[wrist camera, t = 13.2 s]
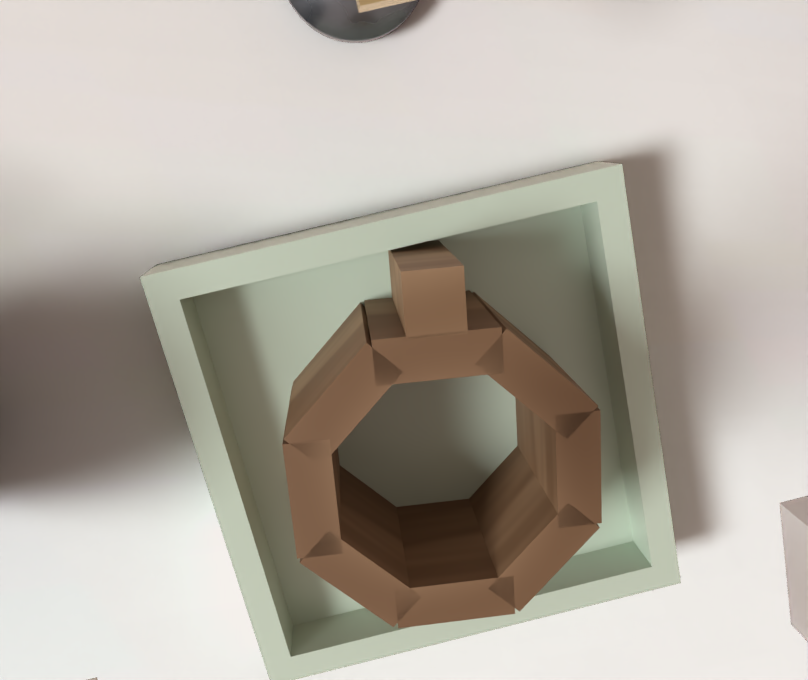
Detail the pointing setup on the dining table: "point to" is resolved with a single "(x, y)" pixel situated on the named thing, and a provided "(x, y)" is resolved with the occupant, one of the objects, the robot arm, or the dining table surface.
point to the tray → (417, 396)
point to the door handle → (354, 17)
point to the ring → (450, 520)
